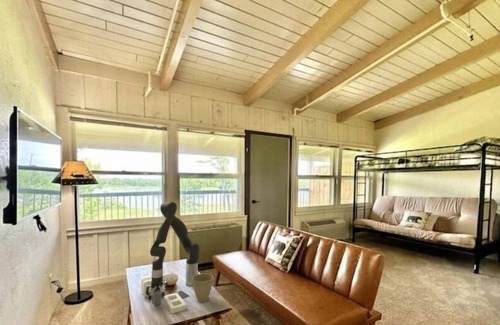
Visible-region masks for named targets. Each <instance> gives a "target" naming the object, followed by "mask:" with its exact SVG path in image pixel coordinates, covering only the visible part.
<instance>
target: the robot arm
mask: <svg viewBox="0 0 500 325" xmlns="http://www.w3.org/2000/svg"><path fill="white" fill-rule="evenodd" d="M159 207H160V208H159V209H160V213H161V214H162V216H163V217H164V218H165V219H164V221H163V222H162V224H161V225H160V227H159V228H158V230H157V234H156V237H155V240H154V242H153V243H152V244H151V245H152V246H151V248H150V250H149V255H150V256H151V257H156V258H157V257H158V258H157V259H154V260H152V263H151V264H152V265H151V266H152V267H151V276H152V278H151V285H149V286H148V285H147V286H146V295H149V296H148V297H147V298H148V301H150V302H151V301H152V296H151V294H152V293H153V292H154V291H157V290H160V289H161V290H162V294H161V299H163V298H164V296H165V295H166V292H167V291H168V290H169V288H168V281H167V280H164V260H165V257H166V254H167V248H166V247H165V246H161V244H165V243H166V242H167V238H168V234H169V230H170V227H171V228H172V230H173V231H174V233H175V235H176V236H177V238H178V240H179V241H180V243H181V244H182V247H183V249H184V251H185V253H187V254H189V257H187V259H186V262H185V263H186V264H185V286H188V287H193V280H192V278H193V276H195V275H197V274H199V271H198V268H199V267H198V264H199V263H198V262H199V259H200V258H199V257H200V245H199V243H196V242H193V241H192V240H191V239H190V237H189V231H188V228H187V225H186V224H185V223H184V222H183V221H182V220H181V219H180V218H178V217H177V216H176V213H177V210H178V206H177V203H176V202H174V201H170V202H169V201H168V202H163V203H161V205H160V206H159ZM163 280H164V282H163ZM163 284H164V289H163V288H162V286H163ZM150 287H151V290H150V292H149V289H150ZM148 292H149V293H148Z"/></svg>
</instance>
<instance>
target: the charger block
mask: <svg viewBox="0 0 500 325" xmlns="http://www.w3.org/2000/svg"><path fill="white" fill-rule="evenodd" d="M151 301H152V305H153V306H154V307H155V306H158V305H161V304H162V303H161V302H162V294H161V290H157V291H154V292H153V296H152V297H151Z"/></svg>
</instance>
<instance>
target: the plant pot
mask: <svg viewBox="0 0 500 325" xmlns="http://www.w3.org/2000/svg"><path fill="white" fill-rule="evenodd" d="M192 280H193V286H192V287H193V291H194V295H195V298H196V299H197V300H196V301H197V302H199V303H205V302H208V300H209V296H210V294H211V291H212V287H213V282H214V275H213V274H211V273H207V272H206V273H205V272H204V273H203V272H202V273H198V274H197V275H195V276H193V278H192Z"/></svg>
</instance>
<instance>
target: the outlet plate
mask: <svg viewBox="0 0 500 325" xmlns="http://www.w3.org/2000/svg"><path fill="white" fill-rule="evenodd" d="M162 300H163V303H164V304H165V306H166V308H167V309H168V311H169V313H170V314H174V313H175V314H176V313H178V312H182V311H186V310H187V306H188V305H187V303H186V302H185V301H184V298H183V299H182V298H181V297H180V296H179V294H178V293H176V292H173V293H171V294H165V296H164V298H162Z"/></svg>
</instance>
